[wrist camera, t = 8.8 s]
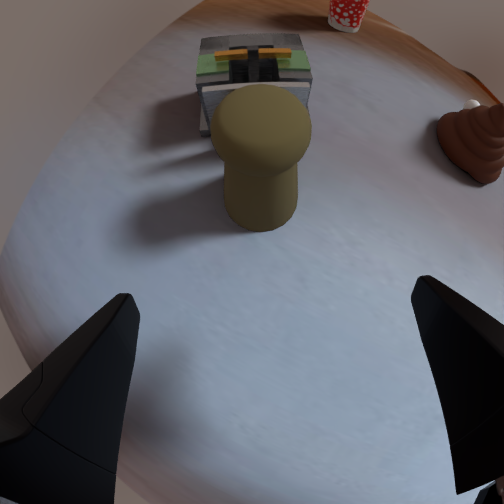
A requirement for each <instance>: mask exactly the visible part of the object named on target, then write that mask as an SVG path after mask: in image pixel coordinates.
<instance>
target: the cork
mask: <svg viewBox="0 0 504 504" xmlns="http://www.w3.org/2000/svg"><path fill="white" fill-rule="evenodd" d="M311 129H312V126H311V120H310V117H309V114H308V111H307V109H306V108H305V107H304V105H303V104H302V103H301V102H300V100H299V99H298V98H297V97H296V96H295V95H294V94H292V93H291V92H289V91H288V90H286V89H283V88H280V87H278V86H275V85H268V84H253V85H247V86H244V87H241V88H238V89H235V90H234V91H232V92H231V93H229V94H228V95H226V96H225V97H224V99H223V100H222V101H221V102H220V104H219V105H218V106H217V107H216V109H215V110H214V113H213V116H212V120H211V125H210V130H211V139H212V143H213V146H214V147H215V149H216V151H217V153H218V155H219V157H220V158H221V159H222V160H223V161H224V162H225V164H224V203H225V208H226V210H227V212H228V214H229V216H230V217H231V218H232V219H233V220H234V221H235V222H236V223H237V224H238V225H239V226H241V227H243V228H245V229H247V230H251V231H257V232H264V231H271V230H274V229H276V228H278V227H280V226H283V225H284V224H285V223H286V222H287V221H288V220H289V219H290V218H291V217H292V215H293V213H294V211H295V209H296V206H297V198H298V178H297V162H298V161H299V160H300V159H301V158H302V157H303V155H304V153H305V152H306V150H307V148H308V146H309V143H310V140H311Z"/></svg>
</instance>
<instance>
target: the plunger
mask: <svg viewBox="0 0 504 504" xmlns="http://www.w3.org/2000/svg"><path fill="white" fill-rule="evenodd" d="M291 54H292V52H291V48H260V49H258V46H247V49H239V50H227V51H216V52H215V55H214V57H215V62H217V61H227V60H240V59H248V72H249V83H239V84H226V85H216V86H207V87H202V94H203V98H204V102H205V106H206V110H207V113H208V117H209V121H210V125H211V120H212V116H213V113H214V110H215V109H216V107H217V106H218V105H219V104H220V102H221V101H222V100H223V99H224V97H225V96H226V95H228V94H229V93H231V92H232V91H234V90H235V89H238V88H241V87H244V86H247V85H253V84H268V85H275V86H278V87H280V88H283V89H286V90H288V91H289V92H291V93H292V94H294V95H295V96H296V97H297V98H298V99H299V100H300V102H301V103H302V104H303V105H304V107H305V108H306V106H307V101H308V96H309V91H310V84H309V82H259V59H260V58H291Z"/></svg>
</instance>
